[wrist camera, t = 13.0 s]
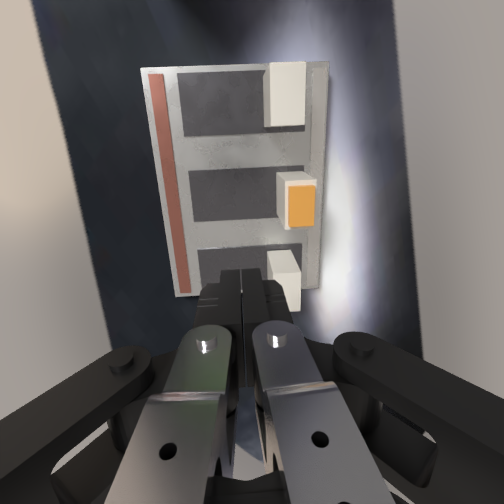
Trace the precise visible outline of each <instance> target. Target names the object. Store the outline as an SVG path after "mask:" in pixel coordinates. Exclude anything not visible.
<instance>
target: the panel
mask: <svg viewBox="0 0 504 504" xmlns="http://www.w3.org/2000/svg"><path fill="white" fill-rule="evenodd" d="M268 65H269V63H266V64H238V65H210V66H182V67H153V68H140V69H141V75H142V82H143V88H144V95H145V101H146V108H147V114H148V121H149V127H150V134H151V140H152V147H153V153H154V160H155V166H156V173H157V179H158V186H159V192H160V199H161V205H162V212H163V218H164V225H165V231H166V238H167V244H168V251H169V257H170V264H171V270H172V277H173V283H174V290H175V296H176V297H181V296H197V295H200V291H201V290H202V289H203V288H204V287H205V286H206V285H207V284H208V283H220V274H221V270H232V269H240V282H241V293H242V272H241V269H249V268H260V270H261V276H262V280H268V276H267V251H275V250H291V252H292V254H293V256H294V258H295V260H296V262H297V264H298V266H299V268H300V271H301V289H312V288H318V285H319V264H320V243H321V222H322V201H323V180H324V159H325V138H326V118H327V97H328V76H329V61H323V62H306V93H305V125H297V126H281V127H264V102H263V75H264V73H265V71H266V69H267V67H268ZM292 171H303V172H305V173H307V174H308V175H310V176H312V177H313V178H315V179H317V187H316V212H315V228H309V229H291V230H285V229H284V227H283V225H282V223H281V221H280V219H279V217H278V215H277V205H276V172H292Z"/></svg>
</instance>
